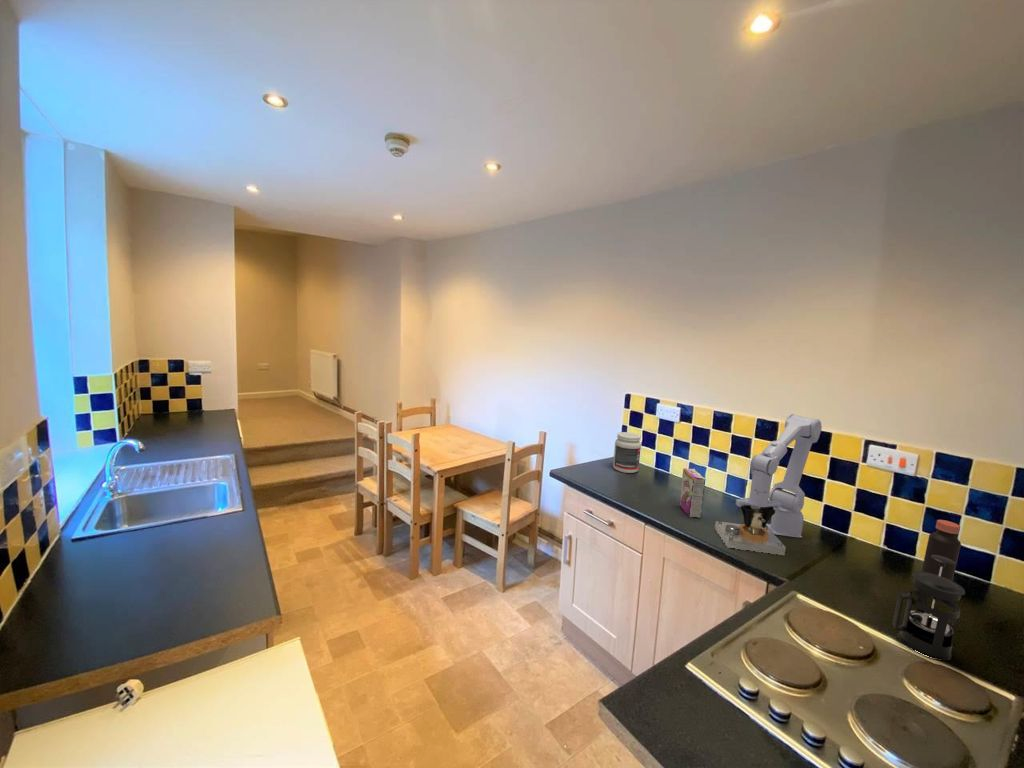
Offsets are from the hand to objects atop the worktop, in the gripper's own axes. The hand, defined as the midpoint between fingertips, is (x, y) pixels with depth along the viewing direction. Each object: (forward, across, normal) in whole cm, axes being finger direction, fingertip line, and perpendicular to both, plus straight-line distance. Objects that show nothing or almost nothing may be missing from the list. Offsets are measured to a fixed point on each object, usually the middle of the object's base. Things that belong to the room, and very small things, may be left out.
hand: (754, 526), depth 149 cm
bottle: (+6, -45, +21) cm, 50 cm away
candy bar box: (+6, +13, -22) cm, 27 cm away
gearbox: (+6, +2, 0) cm, 6 cm away
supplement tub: (+6, +26, -69) cm, 74 cm away
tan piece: (+2, 0, +1) cm, 2 cm away
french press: (+6, -15, +47) cm, 50 cm away
